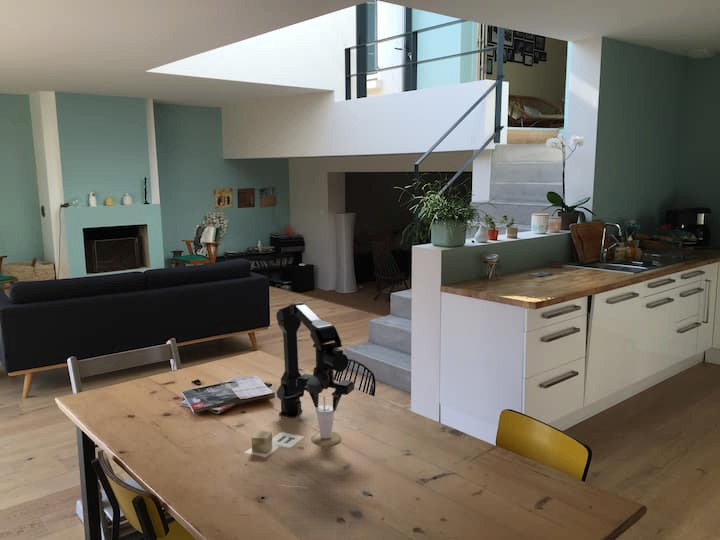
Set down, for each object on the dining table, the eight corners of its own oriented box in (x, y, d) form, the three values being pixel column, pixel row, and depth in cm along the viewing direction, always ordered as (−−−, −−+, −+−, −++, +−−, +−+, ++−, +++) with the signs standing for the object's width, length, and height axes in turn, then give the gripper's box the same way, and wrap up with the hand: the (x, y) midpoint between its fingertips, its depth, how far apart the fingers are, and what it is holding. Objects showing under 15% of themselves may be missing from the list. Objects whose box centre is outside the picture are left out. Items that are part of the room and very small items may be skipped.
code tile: (266, 443, 195) (266, 442, 195) (281, 432, 203) (281, 431, 203) (290, 448, 191) (290, 447, 191) (304, 437, 199) (304, 436, 199)
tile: (244, 453, 188) (244, 452, 188) (258, 442, 196) (258, 442, 196) (265, 457, 185) (265, 457, 185) (279, 447, 192) (279, 446, 192)
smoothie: (312, 437, 196) (311, 397, 194) (322, 430, 202) (321, 390, 199) (329, 441, 193) (328, 400, 191) (339, 433, 199) (338, 393, 196)
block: (252, 452, 188) (251, 437, 188) (257, 445, 193) (256, 430, 192) (267, 453, 188) (266, 438, 187) (272, 446, 192) (271, 431, 192)
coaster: (305, 442, 195) (305, 441, 195) (320, 430, 204) (320, 429, 204) (332, 448, 191) (332, 447, 191) (346, 435, 200) (346, 434, 200)
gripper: (286, 366, 190) (287, 413, 193) (339, 374, 182) (339, 423, 185) (304, 356, 200) (305, 401, 203) (354, 364, 192) (355, 410, 195)
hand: (325, 408), depth 196 cm, fingers closed on smoothie, 6 cm apart
